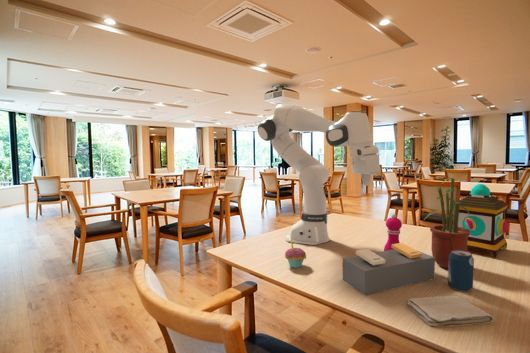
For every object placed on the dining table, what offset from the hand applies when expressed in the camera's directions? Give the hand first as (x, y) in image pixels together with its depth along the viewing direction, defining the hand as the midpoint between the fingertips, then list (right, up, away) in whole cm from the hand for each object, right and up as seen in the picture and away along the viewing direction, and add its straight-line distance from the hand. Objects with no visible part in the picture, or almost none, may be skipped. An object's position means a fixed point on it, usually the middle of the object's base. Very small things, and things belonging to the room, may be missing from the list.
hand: (366, 185), depth 116 cm
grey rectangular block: (+3, -33, -12) cm, 36 cm away
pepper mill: (+12, -32, +4) cm, 34 cm away
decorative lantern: (+56, -30, +16) cm, 66 cm away
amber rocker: (+11, -23, -10) cm, 28 cm away
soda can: (+24, -34, -19) cm, 46 cm away
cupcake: (-28, -33, +2) cm, 43 cm away
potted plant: (+31, -32, +1) cm, 44 cm away
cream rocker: (-4, -24, -16) cm, 29 cm away
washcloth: (+11, -36, -34) cm, 50 cm away
